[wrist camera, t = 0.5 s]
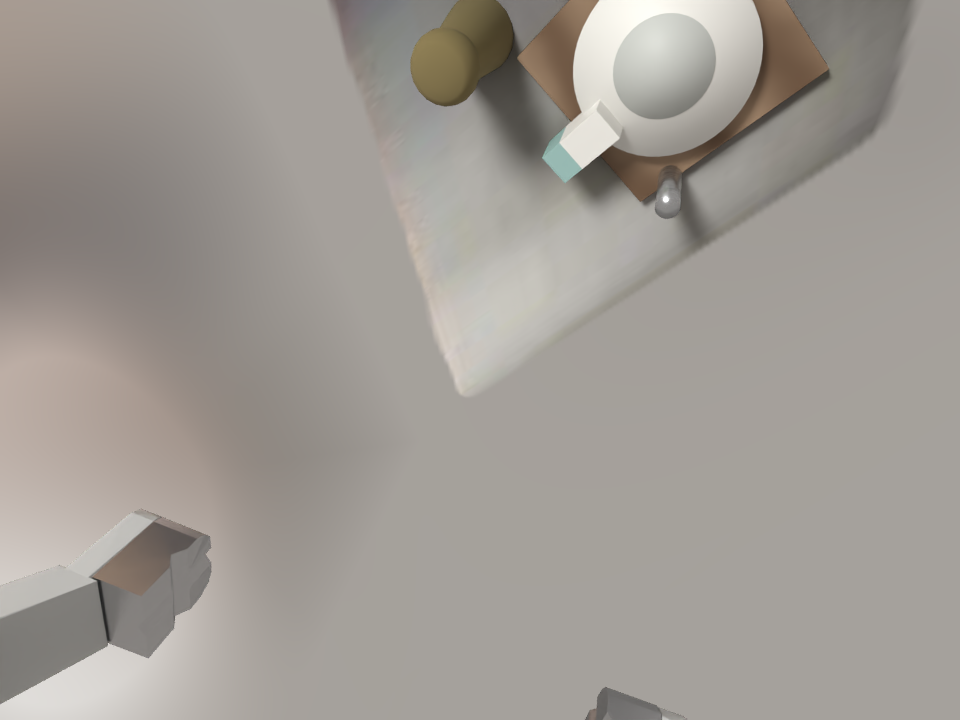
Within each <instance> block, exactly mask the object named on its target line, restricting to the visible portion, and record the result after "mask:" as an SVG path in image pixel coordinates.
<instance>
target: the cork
mask: <svg viewBox="0 0 960 720" xmlns="http://www.w3.org/2000/svg"><path fill="white" fill-rule="evenodd" d="M512 43H513V29H512V23H511V21H510V18H509V16H508V14H507V12H506V10H505V9H504V8H503V7H502V6H501V5H500V3H499V2H498V1H496V0H459V1H458V2H457V3H456V4H455V5H454V7H453V8H452V9H451V11H450V12H449V14H448V15H447V17H446V19H445V20H444V22H443V23H442V25H441V27H440V28H436V29H432V30H431V31H429V32H428V33H426V34H425V35H423V36H422V37H421V38H420V39H419V41H418V42H417V44H416V45H415V47H414V50H413V53H412V57H411V74H412V78H413V82H414V83H415V85H416V87H417V89H418V90H419V92H420V93H421V94H422V95H423V96H424V97H425V98H426V99H427V100H429V101H431V102H432V103H434V104H436V105H441V106H452V105H457V104H459V103H461V102H463V101H465V100H466V99H467V98H468V97H469V96H470V95H471V94H472V93H473V91H474V90H475V88H476V86H477V83H478V81H479V79H480V78H482V77H483V76H485V75H487V74H488V73H490V72H492V71H494V70H495V69H497V68H499V67H500V66H501V65H502V64H503V63H504V62H505V60H506V59H507V58H508V56H509V53H510V51H511V49H512Z"/></svg>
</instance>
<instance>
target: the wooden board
mask: <svg viewBox="0 0 960 720" xmlns="http://www.w3.org/2000/svg"><path fill="white" fill-rule="evenodd" d="M598 1H599V0H569V1H568V2H567V3H566V5H565V6H564V7H563V8H562V9H561V10H560V11H559V12H558V13H557V14H556V15H555V16H554V18H553V19H552V20H551V21H550V22H549V23H548V24H547V25H546V26H545V27H544V28H543V30H542V31H541V32H540V33H539V34H538V35H537V36H536V37H535V38H534V39H533V40H532V41H531V43H530V44H529V45H528V46H527V47H526V48H525V49H524V50H523V51H522V52H521V53H520V55H519V56H518V57H517V59H518V60H519V62H520V63H521V64H522V65H523V66H524V67H525V69H526V70H527V71H528V72H529V73H530V74H531V75H532V77H533V78H534V79H535V80H536V81H537V82H538V84H539V85H540V86H541V87H542V88H543V89H544V91H545V92H546V93H547V94H548V95H549V96H550V98H551V99H552V100H553V101H554V102H555V103H556V104H557V106H558V107H559V108H560V109H561V110H562V111H563V113H564V114H565V115H566V116H567V117H568V118H569V120H570V121H571V122H572V121H573V120H574V119H575V118H576V117H577V116H578V115H579V114H580V113H582V111H581V109H580V106H579V104H578V101H577V98H576V94H575V90H574V81H573V63H574V55H575V50H576V46H577V42H578V39H579V36H580V34H581V31H582V28H583V26H584V25H585V23H586V21H587V19H588V17H589V15H590V13H591V11H592V10H593V9H594V7H595V6H596V4H597V3H598ZM753 2H754V4H755V7H756V10H757V13H758V16H759V19H760V23H761V28H762V36H763V52H762V61H761V66H760V71H759V74H758V77H757V80H756V83H755V86H754V88H753V90H752V92H751V94H750V96H749V98H748V100H747V101H746V103H745V104H744V106H743V108H742V109H741V110H740V112H739V113H738V114H737V115H736V117H735V118H734V119H733V120H732V121H731V122H730V123H729V124H728V125H727V126H726V127H725V128H724V129H723V130H722V131H721V132H719V133H718V134H717V135H716V136H714V137H713V138H711V139H710V140H708V141H707V142H705V143H703V144H701V145H699V146H697V147H695V148H693V149H691V150H688V151H685V152H682V153H679V154H674V155H670V156H661V157H647V156H640V155H635V154H631V153H627V152H625V151H623V150H620V149H618V148H616V147H614V146H613V145H611V146H610V147H609V148H607V149H606V150H605V151H604V152H603V153H601V154H600V156H601V157H602V158H603V159H604V160H605V161H606V163H607V164H608V165H609V166H610V167H611V168H612V169H613V171H614V172H615V173H616V174H617V175H618V176H619V178H620V179H621V180H622V181H623V182H624V183H625V185H626V186H627V187H628V188H629V189H630V190H631V192H632V193H633V194H634V195H635V196H636V197H637V198H638V200H639V201H640V202H641V201H642V200H644V199H645V198H647V197H648V196H650V195H651V194H652V193H654V192H655V191H657V185H658V176H659V172H660V171H661V169H663V168H664V167H666V166H669V165H674V166H677V167H678V168H679V169H680V170H681V173H682V172H684V171H685V170H686V169H688V168H689V167H691V166H692V165H694V164H695V163H696V162H698V161H699V160H701V159H702V158H703V157H705V156H706V155H708V154H709V153H711V152H712V151H713V150H715V149H716V148H718V147H719V146H721V145H722V144H723V143H725V142H726V141H728V140H729V139H730V138H732V137H733V136H735V135H736V134H738V133H739V132H740V131H742V130H743V129H745V128H746V127H748V126H749V125H750V124H752V123H753V122H755V121H756V120H757V119H759V118H760V117H762V116H763V115H765V114H766V113H767V112H769V111H770V110H772V109H773V108H774V107H776V106H777V105H779V104H780V103H782V102H783V101H784V100H786V99H787V98H789V97H790V96H792V95H793V94H794V93H796V92H797V91H799V90H800V89H801V88H803V87H804V86H806V85H807V84H809V83H810V82H811V81H813V80H814V79H816V78H817V77H819V76H820V75H821V74H823V73H824V72H826V71H827V70H828V69H829V68H828V66H827V64H826V62H825V61H824V59H823V58H822V56H821V55H820V53H819V51H818V50H817V48H816V47H815V45H814V44H813V42H812V41H811V39H810V37H809V36H808V34H807V33H806V31H805V30H804V28H803V26H802V25H801V23H800V22H799V20H798V19H797V17H796V15H795V14H794V12H793V11H792V9H791V8H790V6H789V5H788V3H787V1H786V0H753Z"/></svg>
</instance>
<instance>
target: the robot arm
mask: <svg viewBox="0 0 960 720" xmlns="http://www.w3.org/2000/svg"><path fill="white" fill-rule="evenodd" d="M210 548H211V542H210V536H208V535H206V534H203V533H201V532H198V531H196V530H193V529H191V528H188V527H185V526H183V525H181V524H178V523H175V522H173V521H171V520H168V519H166V518H164V517H161V516H159V515H156V514H153V513H151V512H148V511H146V510H143V509H139V510H137V511H135V512H132V513H130V514H129V515H128V516H127V517H125V518H124V519H123V520H122V521H121V522H119V523H118V524H117V525H116V526H115V527H113V528H112V529H111V530H110V531H109V532H108V533H106V534H105V535H104V536H103V537H102V538H101V539H99V540H98V541H97V542H96V543H95V544H93V545H92V546H91V547H90V548H89V549H87V550H86V551H85V552H84V553H83V554H81V555H80V556H79V557H78V558H77V559H76V560H74V561H73V562H72V563H71V564H70V565H68V566H67V567H63V566H60V565H59V566H56V567H53V568H50V569H47V570H44V571H41V572H38V573H35V574H33V575H30V576H27V577H24V578H21V579H18V580H15V581H12V582H9V583H6V584H4V585H1V586H0V704H1V703H3V702H5V701H7V700H9V699H11V698H12V697H14V696H16V695H18V694H20V693H22V692H23V691H25V690H27V689H29V688H31V687H33V686H35V685H37V684H38V683H40V682H42V681H44V680H46V679H48V678H50V677H51V676H53V675H55V674H57V673H59V672H61V671H62V670H64V669H66V668H68V667H70V666H72V665H74V664H75V663H77V662H79V661H81V660H83V659H85V658H86V657H88V656H90V655H92V654H94V653H96V652H97V651H99V650H101V649H103V648H105V647H107V645H108V643H110V644H112V645H115V646H118V647H120V648H123V649H126V650H128V651H131V652H133V653H136V654H139V655H141V656H144V657H146V658H149V657H150V656H151V655H152V653H153V652H154V651H155V650H156V649H157V647H158V646H159V645H160V644H161V643H162V642H163V640H164V639H165V638H166V637H167V636H168V635H169V634H170V632H171V631H172V630H173V629H174V623H175V622H174V621H175V616H176V615H178V614H180V613H182V612H185V611H187V610H189V609H191V608H192V606H193V605H194V604H195V603H196V602H197V600H198V599H199V598H200V597H201V595H202V593H203V591H204V589H205V588H206V586H207V584H208V582H209V578H210V574H211V562H210V560H209V559H208V557H207V556H206V553H207V552H208V550H209V549H210ZM585 720H687V718H685V717H684V716H681V715H679V714H676V713H673V712H670V711H667V710H665V709H662V708H659V707H657V706H656V705H654V704H651V703H648V702H646V701H643V700H640V699H637V698H634V697H632V696H629V695H626V694H624V693H621V692H618V691H615V690H612V689H610V688H607V687H605V688H603V689H602V690H601V692H600V694H599V695H598V697H597V708H596V709H592V710H590V711H589V713H588V715H587V717H586V719H585Z"/></svg>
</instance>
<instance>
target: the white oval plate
mask: <svg viewBox="0 0 960 720" xmlns="http://www.w3.org/2000/svg"><path fill="white" fill-rule="evenodd" d="M762 52H763V36H762V28H761V23H760V19H759V16H758V13H757V10H756V7H755V4H754V2H753V0H599V1H598V3H597V4H596V6H595V7H594V9H593V10H592V11H591V13H590V15H589V17H588V19H587V21H586V23H585V25H584V26H583V28H582V31H581V34H580V36H579V39H578V42H577V46H576V50H575V55H574V63H573V81H574V90H575V94H576V98H577V101H578V104H579V106H580V109H581V111H582V113H580V114H579V115H578V116H577V117H576V118H575V119H574V120H573V121H572V122H570V123H569V124H568V125H567V126H566V127H565V128H564V129H563V130H562V131H560V132H559V133H558V134H557V135H556V136H555V137H554V138H553V139H552V140H550V142H549V144H548V146H547V148H546V150H545V153H544V155H543V157H542V158H543V160H544V161H545V162H546V163H547V164H548V165H549V166H550V167H551V168H552V169H553V171H554V172H555V173H556V174H557V175H558V176H559V177H560V178H561V179H562V180H563V182H564V183H566V182H567V181H568V180H569V179H571V178H572V177H573V176H574V175H575V174H577V173H578V172H579V171H580V170H582V169H583V168H584V167H585V166H587V165H588V164H589V163H590V162H591V161H593V160H594V159H595V158H596V157H598V156H599V155H600V154H601V153H603V152H604V151H605V150H606V149H607V148H609V147H610V146H611V145H613V146H614V147H616V148H618V149H620V150H623V151H625V152H627V153H631V154H635V155H640V156H647V157H661V156H670V155H674V154H679V153H682V152H685V151H688V150H691V149H693V148H695V147H697V146H699V145H701V144H703V143H705V142H707V141H708V140H710V139H711V138H713V137H714V136H716V135H717V134H718V133H719V132H721V131H722V130H723V129H724V128H725V127H726V126H727V125H728V124H729V123H730V122H731V121H732V120H733V119H734V118H735V117H736V115H737V114H738V113H739V112H740V110H741V109H742V108H743V106H744V104H745V103H746V101H747V100H748V98H749V96H750V94H751V92H752V90H753V88H754V86H755V83H756V80H757V77H758V74H759V71H760V66H761V61H762Z"/></svg>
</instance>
